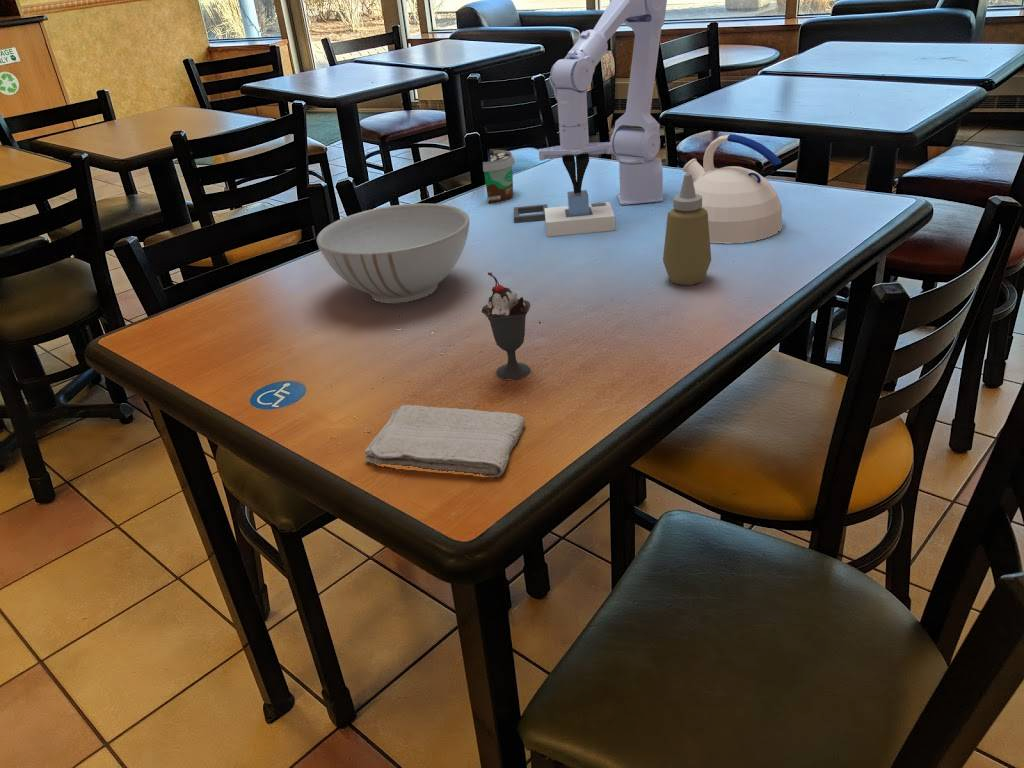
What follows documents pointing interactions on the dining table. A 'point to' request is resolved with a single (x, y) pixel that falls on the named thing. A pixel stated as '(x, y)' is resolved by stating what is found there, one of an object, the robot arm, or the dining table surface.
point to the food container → (499, 176)
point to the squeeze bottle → (687, 237)
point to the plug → (578, 203)
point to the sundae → (508, 327)
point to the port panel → (579, 220)
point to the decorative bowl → (396, 249)
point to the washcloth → (447, 439)
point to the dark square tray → (526, 210)
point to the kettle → (736, 196)
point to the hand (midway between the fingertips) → (577, 191)
